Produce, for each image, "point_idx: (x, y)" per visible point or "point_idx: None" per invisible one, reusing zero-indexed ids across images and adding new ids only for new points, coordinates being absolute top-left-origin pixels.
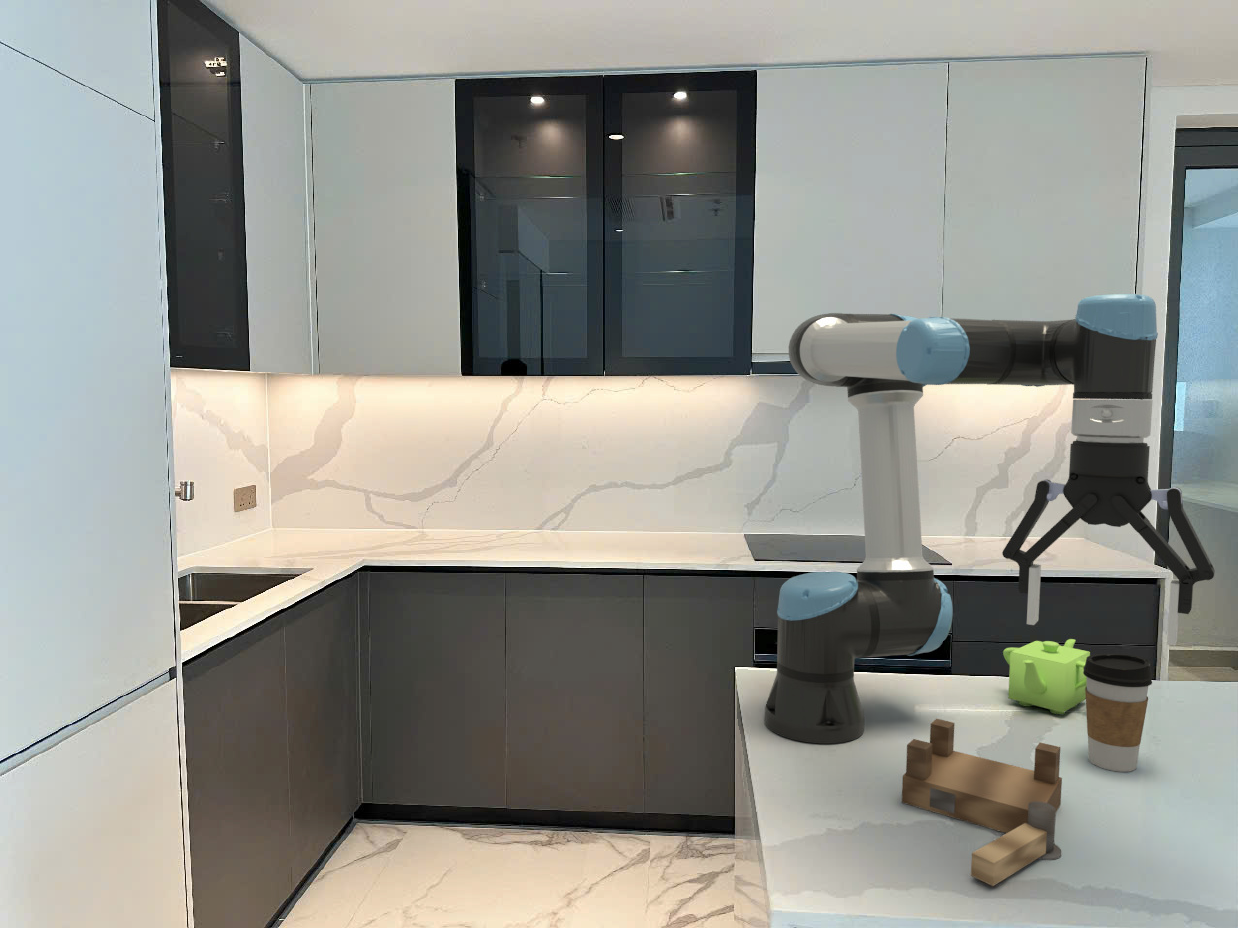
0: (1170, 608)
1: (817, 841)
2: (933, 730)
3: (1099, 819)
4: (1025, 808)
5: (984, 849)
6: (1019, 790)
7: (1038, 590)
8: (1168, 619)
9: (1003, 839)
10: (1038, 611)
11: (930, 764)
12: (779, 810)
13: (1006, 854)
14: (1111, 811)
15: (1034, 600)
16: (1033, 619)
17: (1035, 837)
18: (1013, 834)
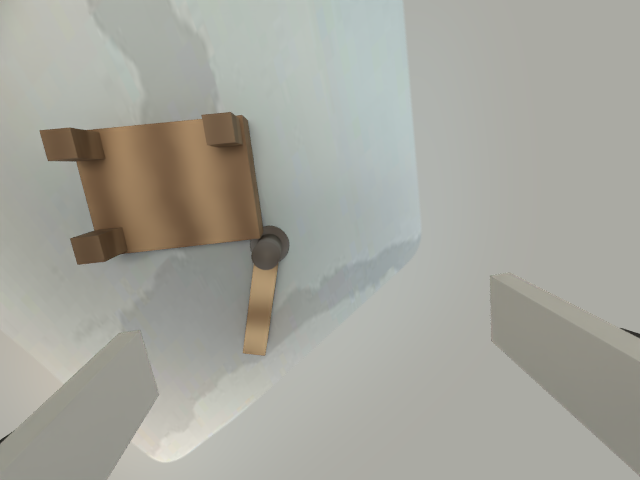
0: (576, 414)
1: None
2: (60, 160)
3: (292, 128)
4: (244, 237)
5: (248, 339)
6: (219, 195)
7: (81, 430)
8: (540, 385)
9: (252, 309)
10: (126, 353)
11: (115, 234)
12: (47, 352)
13: (266, 334)
14: (296, 95)
15: (116, 460)
16: (149, 406)
17: (273, 283)
18: (255, 293)
